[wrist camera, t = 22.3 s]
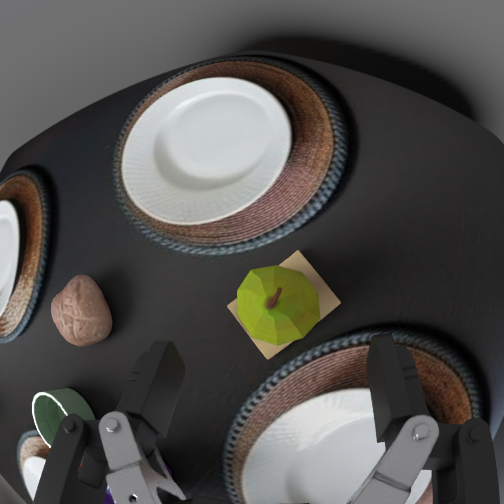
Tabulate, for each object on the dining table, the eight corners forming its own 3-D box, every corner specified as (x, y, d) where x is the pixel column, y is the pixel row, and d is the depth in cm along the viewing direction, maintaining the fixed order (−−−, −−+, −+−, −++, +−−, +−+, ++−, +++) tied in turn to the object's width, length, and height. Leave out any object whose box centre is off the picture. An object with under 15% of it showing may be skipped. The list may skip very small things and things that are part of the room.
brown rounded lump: (57, 302, 30) (67, 359, 26) (37, 274, 25) (42, 338, 21) (108, 285, 33) (123, 341, 29) (93, 254, 28) (107, 316, 24)
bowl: (110, 435, 25) (87, 446, 21) (78, 452, 25) (56, 462, 21) (75, 377, 28) (50, 381, 23) (47, 400, 28) (24, 405, 23)
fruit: (231, 314, 25) (172, 311, 14) (271, 256, 26) (244, 207, 14) (291, 356, 23) (280, 392, 12) (332, 296, 24) (358, 278, 12)
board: (340, 303, 25) (341, 302, 24) (268, 358, 25) (267, 360, 24) (298, 252, 26) (298, 249, 25) (229, 306, 26) (226, 305, 25)
